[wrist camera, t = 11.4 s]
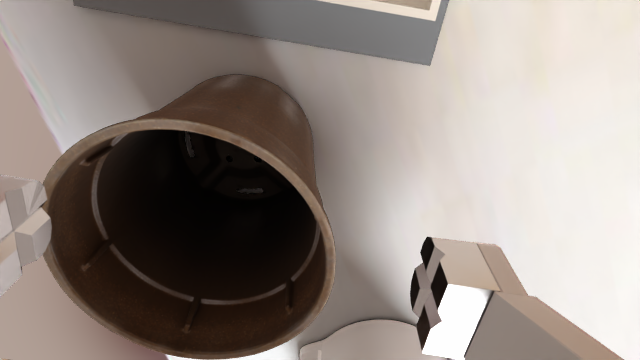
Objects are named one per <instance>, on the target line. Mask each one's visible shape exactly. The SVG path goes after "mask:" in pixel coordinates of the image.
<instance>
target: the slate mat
mask: <svg viewBox="0 0 640 360" xmlns="http://www.w3.org/2000/svg"><path fill="white" fill-rule="evenodd" d="M73 2H74V5H75V6H80V7H86V8H92V9H98V10H104V11H110V12H116V13H122V14H128V15H133V16H139V17H145V18H151V19H157V20H163V21H169V22H175V23H181V24H187V25H192V26H198V27H204V28H210V29H216V30H222V31H228V32H234V33H240V34H246V35H251V36H257V37H263V38H269V39H275V40H281V41H287V42H293V43H299V44H305V45H310V46H316V47H322V48H328V49H334V50H340V51H346V52H352V53H358V54H363V55H369V56H375V57H381V58H387V59H393V60H399V61H405V62H411V63H417V64H422V65H428V66H430V65H431V61H432V58H433V54H434V51H435V47H436V44H437V40H438V37H439V33H440V30H441V26H442V23H443V20H444V16H445V13H446V9H447V6H448V2H449V0H441V2H440V6H439V10H438V13H437V17H436V20H435V21H432V20H426V19H421V18H415V17H409V16H403V15H398V14H392V13H386V12H381V11H375V10H369V9H363V8H358V7H352V6H346V5H341V4H335V3H329V2H323V1H318V0H73Z"/></svg>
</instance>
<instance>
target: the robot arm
mask: <svg viewBox="0 0 640 360" xmlns="http://www.w3.org/2000/svg"><path fill="white" fill-rule="evenodd" d="M46 201H47V196H46V192H45V187H44V185H43V184H41V183H40V182H39V181H37V180H31V179H25V178H19V177H12V176H6V175H0V297H1V296H2V295H3V294H4V293H5V292H6V291H7V290H8V289H9V288H10V287H11V286H12V285H13V284H14V283H15V282H16V281H17V280H18V279H19V278H20V277H21V276H22V266H25V265H27V264H29V263H32V262H34V261H37V259H38V258H39V257H40V256H41V255H42V254H43V253H44V252H45V250H46V248H47V246H48V244H49V241H50V239H51V231H52V225H51V219H50V217H49V216H48V215H47V213H46V212H45V211H44V210H43V209H42V208H41V207H42V206H43V205H44V203H45V202H46ZM420 253H421V256H422V260H423V263H422V264H420V265H419V266H418V267H416V268H415V271H414V274H413V278H412V282H411V291H410V297H411V305H412V310H413V312H414V313H415V314H416V315H417V316H418V317H419V321H418V324H417V327H415V326H413V325H410V324H407V323H403V322H399V321H394V320H368V321H362V322H357V323H354V324H351V325H348V326H346V327H343V328H341V329H340V330H338V331H336V332H335V333H333V334H332V335H330V336H329V337H328V338H326V339H324V340H322V341H318V342H315V343H311V344H308V345H305V346H303V347H302V348H301V349H300V360H447V359H446V358H444V357H450V358H457V359H463V360H624V359H622V358H621V357H619V356H618V355H617V354H615V353H614V352H612V351H611V350H610V349H608V348H607V347H605V346H604V345H603V344H601V343H600V342H598V341H597V340H596V339H594V338H593V337H591V336H590V335H589V334H587V333H586V332H584V331H583V330H582V329H580V328H579V327H577V326H576V325H575V324H573V323H572V322H570V321H569V320H568V319H566V318H565V317H563V316H562V315H561V314H559V313H558V312H556V311H555V310H553V309H552V308H551V307H549V306H548V305H546V304H545V303H544V302H542V301H541V300H539V299H538V298H537V297H533V296H528V294H527V293H526V291H525V289H524V287H523V286H522V284H521V282H520V281H519V279H518V277H517V275H516V274H515V272H514V270H513V269H512V267H511V265H510V263H509V262H508V260H507V258H506V257H505V255H504V253H503V251H502V250H501V248H500V247H499V246H497V245H495V244H486V243H477V242H466V241H457V240H449V239H441V238H432V237H427V238H426V240H425V241H424V243H423V246H422V249H421V252H420ZM443 356H444V357H443ZM0 360H9V359H0Z"/></svg>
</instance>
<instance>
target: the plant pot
mask: <svg viewBox="0 0 640 360" xmlns="http://www.w3.org/2000/svg"><path fill="white" fill-rule="evenodd" d="M185 131H187V132H188V133H189V134H190V136H191V139H190V141H191V144H192V149H193V151H194V154H195V155H194V157H193V158H192V157H190V156H189V155H188V152H187V149H186V144H185V138H184V137H185ZM227 156H231V157H232V158H233V161H232V162H228V161H227V160H226V157H227ZM255 156H257V157H259V158H261V159H262V161H261V162H256V161H255V160H254V157H255ZM43 185H44V187H45V192H46V196H47V201H46V202H45V203H44V205H43V206H42V207H41V208H42V209H43V210H44V211H45V212H46V213H47V215H48V216H49V217H50V219H51V225H52V231H51V239H50V241H49V244H48V246H47V248H46V250H45V252H44V253H43V256H44V259H45V261H46V263H47V266H48V267H49V269H50V271H51V273H52V274H53V276H54V278H55V280H56V281H57V283H58V284H59V285H60V287H61V288H62V289H63V291H64V292H65V293H66V294H67V295H68V297H69V298H70V299H71V300H72V301H73V302H74V303H75V304H76V305H77V306H78V307H79V308H80V309H82V310H83V311H84V312H85V313H86V314H87V315H89V316H90V317H91V318H92V319H94V320H95V321H97V322H98V323H99V324H101V325H102V326H104V327H105V328H107V329H109V330H110V331H112V332H114V333H116V334H117V335H120V336H121V337H124V338H125V339H127V340H129V341H132V342H133V343H136V344H138V345H141V346H143V347H146V348H148V349H151V350H153V351H157V352H161V353H164V354H168V355H173V356H177V357H184V358H192V359H206V360H213V359H230V358H239V357H245V356H250V355H255V354H258V353H261V352H264V351H267V350H269V349H272V348H274V347H277V346H279V345H281V344H283V343H285V342H287V341H289V340H291V339H292V338H294V337H295V336H297V335H298V334H299V333H301V332H302V331H303V330H305V329H306V328H307V327H308V326H309V325H310V324H311V323H312V322H313V321H314V320H315V319H316V317H317V316H318V315H319V313H320V312H321V311H322V309H323V308H324V306H325V304H326V302H327V300H328V298H329V296H330V293H331V290H332V287H333V283H334V278H335V265H336V254H335V244H334V238H333V234H332V230H331V227H330V223H329V220H328V218H327V216H326V213H325V211H324V209H323V204H322V200H321V197H320V194H319V191H318V188H317V186H316V177H315V166H314V152H313V138H312V133H311V129H310V125H309V123H308V120H307V118H306V116H305V114H304V112H303V110H302V109H301V107H300V106H299V105H298V104H297V103H296V102H295V101H294V100H293V99H292V98H291V97H290V96H289V95H287V94H286V93H285V92H284V91H283V90H282V89H281V88H280V87H278V86H277V85H275V84H273V83H271V82H269V81H267V80H264V79H261V78H258V77H253V76H247V75H224V76H219V77H215V78H212V79H209V80H206V81H204V82H202V83H200V84H199V85H197V86H195V87H194V88H193V89H192V90H190V91H189V92H187V93H185V94H184V95H182V96H181V97H179V98H178V99H176V100H174V101H173V102H171V103H170V104H168V105H167V106H165V107H163V108H162V109H160V110H159V111H155V112H152V113H149V114H146V115H143V116H141V117H138V118H136V119H133V120H128V121H124V122H120V123H117V124H114V125H111V126H108V127H105V128H103V129H101V130H99V131H97V132H95V133H93V134H90V135H89V136H87V137H85V138H83V139H82V140H80V141H79V142H77V143H76V144H75V145H73V146H72V147H71V148H69V149H68V150H67V151H66V152H65V153H64V154H63V155H62V156H61V157H60V158H59V159H58V160H57V161H56V163H55V164H54V165H53V167H52V168H51V169H50V171H49V173H48V174H47V176H46V178H45V180H44V182H43ZM252 188H253V189H256V188H262V189H263V191H264V192H263V193H258V194H244V193H239V192H236V190H237V189H252Z"/></svg>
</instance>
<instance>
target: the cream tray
mask: <svg viewBox="0 0 640 360" xmlns="http://www.w3.org/2000/svg"><path fill="white" fill-rule="evenodd" d="M318 1H323V2H329V3H335V4H341V5H346V6H352V7H358V8H363V9H369V10H375V11H381V12H386V13H392V14H398V15H403V16H409V17H415V18H421V19H426V20H432V21H435V20H436V17H437V13H438V10H439V6H440V2H441V0H318Z"/></svg>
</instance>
